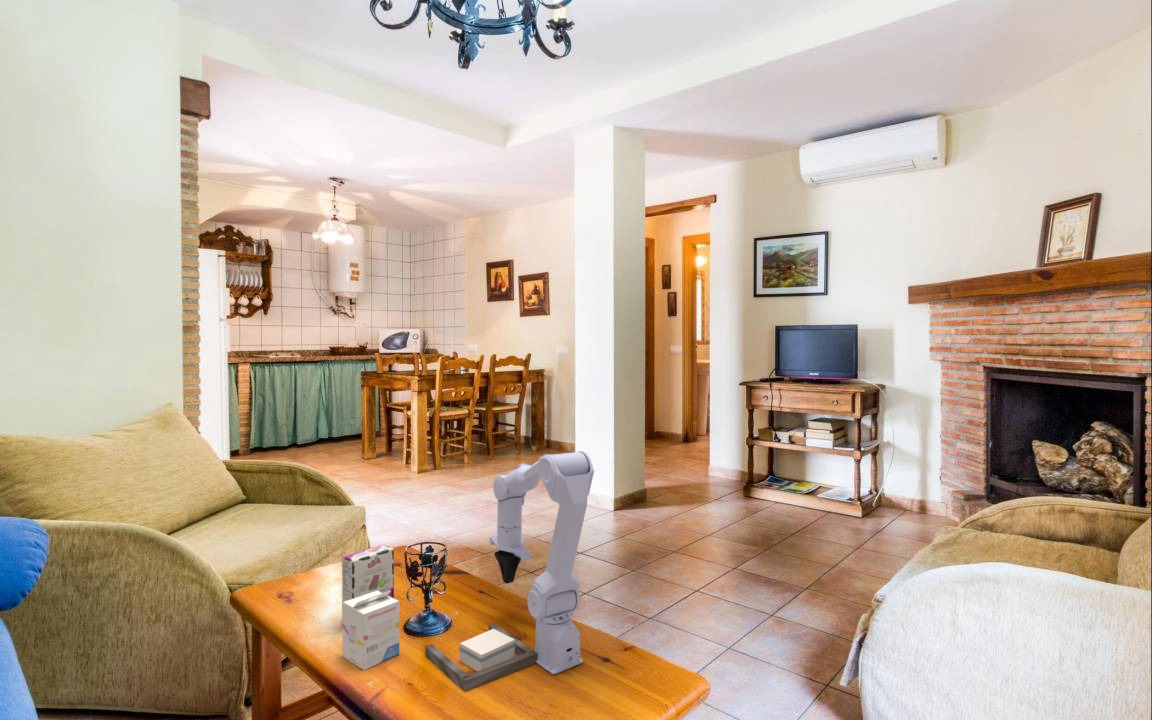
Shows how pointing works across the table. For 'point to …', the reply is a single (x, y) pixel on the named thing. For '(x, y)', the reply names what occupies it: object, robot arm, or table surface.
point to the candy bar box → (368, 573)
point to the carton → (487, 650)
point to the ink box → (370, 629)
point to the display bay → (487, 674)
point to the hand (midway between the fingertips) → (508, 581)
